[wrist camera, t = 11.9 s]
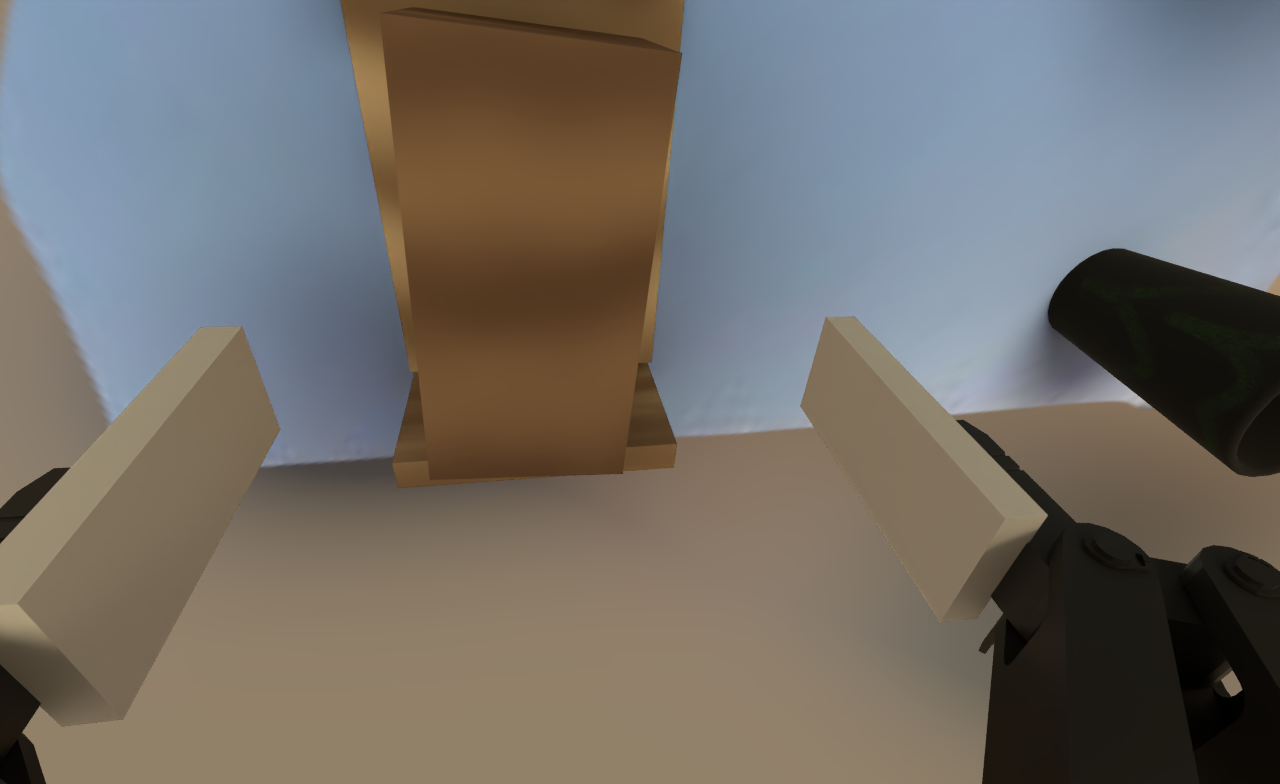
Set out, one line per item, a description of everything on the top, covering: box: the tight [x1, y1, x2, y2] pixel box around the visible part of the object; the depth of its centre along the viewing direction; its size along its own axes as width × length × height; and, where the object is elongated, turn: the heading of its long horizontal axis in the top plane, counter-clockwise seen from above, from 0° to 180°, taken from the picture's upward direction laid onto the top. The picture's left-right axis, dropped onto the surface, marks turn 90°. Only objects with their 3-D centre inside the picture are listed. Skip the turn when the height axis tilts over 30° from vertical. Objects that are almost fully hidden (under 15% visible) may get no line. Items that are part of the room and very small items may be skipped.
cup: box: [1048, 249, 1280, 477], centre depth 30 cm, size 8×8×12 cm
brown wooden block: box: [379, 7, 682, 480], centre depth 20 cm, size 14×7×6 cm, turn 173°
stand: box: [340, 0, 684, 488], centre depth 23 cm, size 20×12×7 cm, turn 176°
